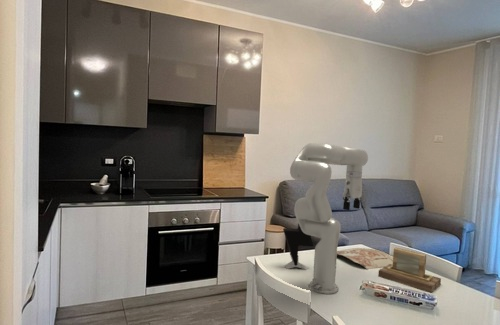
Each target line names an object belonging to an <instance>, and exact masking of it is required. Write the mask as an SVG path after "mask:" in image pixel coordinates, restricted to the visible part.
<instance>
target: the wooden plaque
mask: <svg viewBox="0 0 500 325" xmlns="http://www.w3.org/2000/svg"><path fill="white" fill-rule="evenodd" d="M392 255H393V256H392V257H393V267H392V269H394V270H397V271H401V272H404V273H408V274H411V275H415V276H418V277H421V278H425V274H426V268H427V267H426V264H427V254H425V253H420V252H417V251H416V252H415V251H412V250H408V249H404V248H399V247H395V248H393V254H392Z"/></svg>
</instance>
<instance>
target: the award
mask: <svg viewBox="0 0 500 325" xmlns="http://www.w3.org/2000/svg"><path fill="white" fill-rule="evenodd" d="M297 223H298V222H297ZM283 233H284V236H285V239H286V243H287V246H288V249H289V250H288V251H289V255H290V256H289V257H290V259H291V261H290V262H288V263H286V264H285V265H284V266H286V267H285V268H286V270H289V269H293V268H300V269H302V270H308V269H307V267H306V266H305V265H304V264H302V263H301V262H299V246H300V247H301V246H302V247H314V243H313V238H312V236H311V235H307V234H305V233H303V231H302V230H301V228H300V225H299V223H298V224H297V228H289V227H287V228H285V227H284V228H283Z"/></svg>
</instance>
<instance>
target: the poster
mask: <svg viewBox="0 0 500 325" xmlns="http://www.w3.org/2000/svg"><path fill="white" fill-rule="evenodd" d="M337 255H339V256H343V257H345V258H347V259H349V260H350V261H352V262H353V263H356V264H358V265H360V266H362V267H363V268H365V269H366V270H372V269H382V268H384V267H386V266H387V265H389V264H392V265H393V256H391V255H390V254H388V253H387V252H384V251H383V250H378V249H373V248H366V247H355V248H346V249H341V250H337Z"/></svg>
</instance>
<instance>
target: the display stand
mask: <svg viewBox="0 0 500 325" xmlns="http://www.w3.org/2000/svg"><path fill="white" fill-rule="evenodd" d="M392 267H393V265H392V264H389V265H387V266H386V267H384V268H379V269H378V273H377V274H378V277H380V278H383V279H386V280H389V281H392V282H395V283H398V284H402V285H405V286H409V287H412V288H415V289H418V290H421V291H424V292H427V293H430V294H431V293H433V292H434V291H435V290H437V288H438V287H440V286H441V281H442V278H441V277H437V276H433V275H431V274H427V273H425V278H421V277H418V276H415V275H411V274H408V273H404V272H401V271H397V270H394V269H392Z"/></svg>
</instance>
